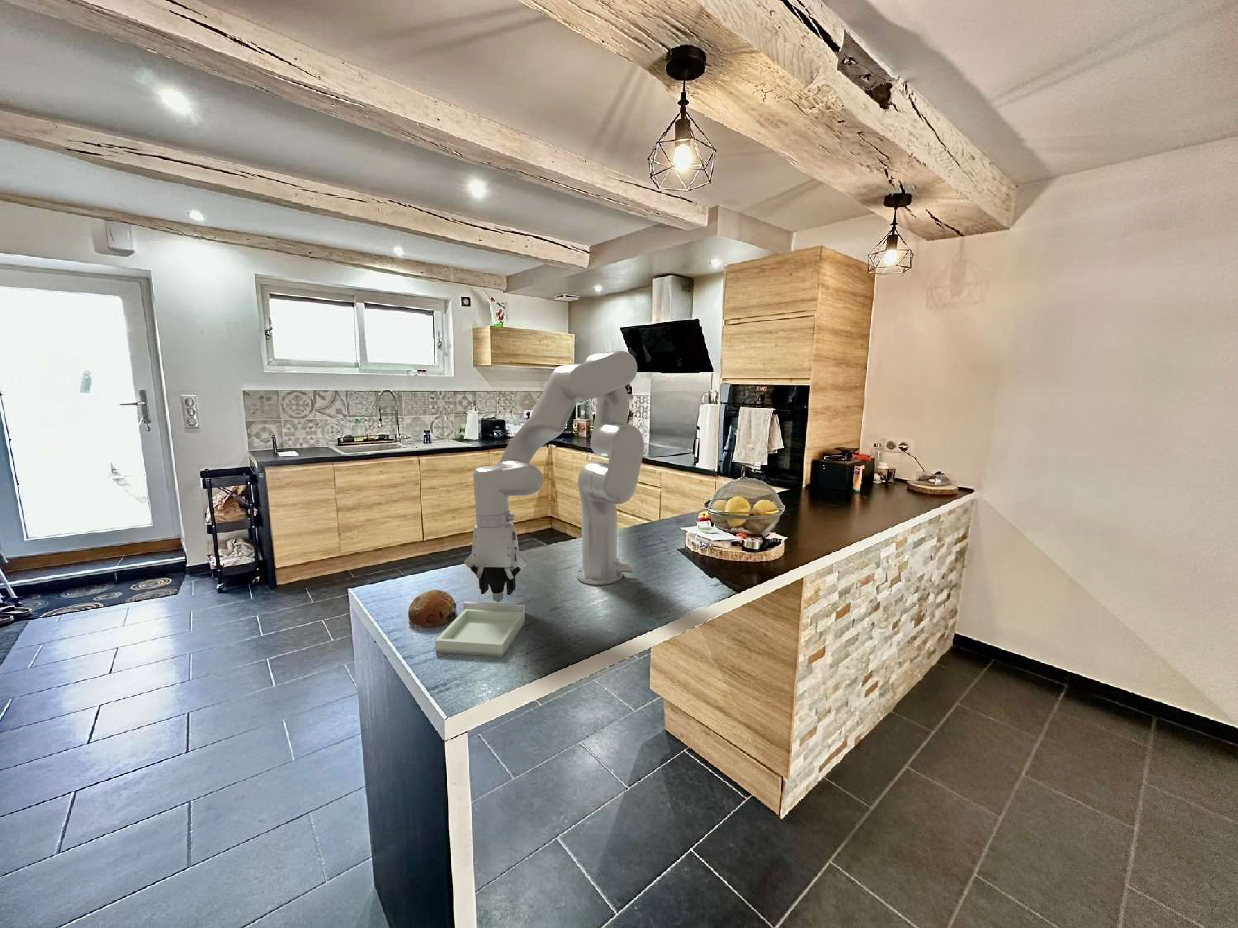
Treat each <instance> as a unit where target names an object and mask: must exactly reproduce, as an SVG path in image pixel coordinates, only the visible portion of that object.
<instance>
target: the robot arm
mask: <svg viewBox="0 0 1238 928" xmlns="http://www.w3.org/2000/svg"><path fill="white" fill-rule="evenodd" d="M637 372H638V363H637V361H636V358H635V356H633V355H632V354H631V353H630V352H627V351H624V350H613V351H603V352H596V353H592V354H591V355H589V356H588V357H586V359H585V361H584V363H571V364H563V365H559V366H558V367H556V368H555V369H553V371H552V373H551V375H550V376H549V379H548V380H547V382H546V385H545V386H544V389H543V391H542V393H541V396H540V397H539V399H538V402H537V404H536V405H535V408H534V410H533V412H532V414H531V415H530V417H529V419H528V420H527V421H526V422H525V423H524V424H523V425H522V426H521V427H520V428H519V430H518V431H517V432H516V433H515V434H514V435H513V437H512V438H511V439H510V441H509V442H508V444H507V446H506V447H505V450H504V452H503V455H502V456H501V458H500V460H499V462H498V465H488V466H487V465H485V466H480V467H477V468H475V470H474V472H473V474H472V476H473V477H472V479H473V493H474V494H473V495H474V504H475V505H474V508H475V520H476V523H475V525H474V527H473V531H472V544H471V545H472V546H471V553H470V554H469V556H468V557H467V558H466V559H465V560H464V561H463V563H464V565H465V566H466V567H468V568H469V569H470V571H471V572H472V573H473V574H474V575H476V576H475V577H476V578H477V579H478V589H479V590H480V594H481V595H485V594H486V593H487V592H488V590H489V588H490V586H489V584H488V583H487V582H486V581H485V579H484V570H485V568H486V567H496V568H504V569H505V571H506V573H507V576H508V578H507V580H506V583H505V586H506V595H507V596H511V595H512V594H513V592H514V591H515V590H516V588H517V585H516V576H517V574H519V573H520V572H521V571H522V570H523V569H524V568H525V567H526V566H527V565H528V564H529V562H528V560H527V559H526V558H525V557H524V556H523V555H522V554H521V553H520V548H519V542H518V536H517V532H516V531H517V530H516V528H515V525H514V524H515V523H514V521H516V514H512V513H511V511H510V503H509V497H528V496H532V495H534V494H536V493H538V492H539V491H540V490H541V488H542V487H543V485H544V475H543V472H542V471H541V470H540V469H539V468H538V466H537V467H536V466H535V465H533V464H530V463H531V461H532V459H533V457H534V456H535V454H536V453H537V452H538V451H539V450H540V448H541V447H542V446H544V445H545V444H547V443H549V442H550V441H552V440H554V439H556V438H557V437H558V436H560V435H561V434H562V433H563V432H564V431H565V428H566V426H567V424H568V423H569V420H570V417H571V415H572V414H573V411H574V409H575V407H576V405H577V403H578V401H588V400H589V401H590V400H592V399H597V400H596V401H597V404H596V411H595V416H594V422H593V425H592V426H593V427H592V432H591V436H590V437H591V438H590V449H591V451H592V452H593V453H594V454H596V455H597V456H599V457H602V458H605V459H608V461H607V462H604V461H603V462H602V461H591V462H588V463H586V464H585V465H584V466H583V467H581V468H580V471H579V473H578V476H577V486H578V487H577V488H578V491H579V492H578V493H579V494H578V495H579V498H580V504H581V507H580V508H581V567H580V568H578V570H577V571H576V578H577V580H578V581H580V582H582V583H584V584H588V585H593V586H594V585H595V586H596V585H600V586H603V585H610V584H614V583H616V582H618V581H620V580H621V579H622V578H623V573H626V574H633V573H634V565H630V563H627V562H626V563H623V562H621V561H620V557H618V512H617V511H618V510H617V505H623V504H625V503H627V502H628V501H630V500H631V498H632V497H633V495H634V493H635V492H636V488H637V486H638V480H639V476H640V471H641V466H642V462H643V456H644V449H645V442H644V436H643V434H642V432H641V431H640V429H639V428H638V427H636V426H635V425H633V424H630V423H628V417H629V411H630V398H629V394H628V392H627V389H626V386H627V385H629V384H631V383H632V382H633V381H634V379H635V378H636V375H637ZM512 521H513V522H512ZM516 562H518V565H517V566H516V567H515V563H516Z"/></svg>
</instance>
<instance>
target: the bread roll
mask: <svg viewBox="0 0 1238 928" xmlns="http://www.w3.org/2000/svg"><path fill="white" fill-rule="evenodd" d="M456 612H457V602H455V600H454V597H452V595H451V594H450V593H449V592H447V591H446V590H445V591H444V590H441V589H431V590H428V591H425V592H423V593H421V594H419V595H417V596H416V597H415V598H414V599H413V600H412V602H411V604H410V605H409V607H408V610H407V618H408V621H409V622H410V624H412V625H413V626H415V625H416V627H421V628H436V627H440V626H442V625H445V624H447V623H450V622H451V621H453V619H454V617H456Z"/></svg>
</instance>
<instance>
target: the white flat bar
mask: <svg viewBox="0 0 1238 928" xmlns="http://www.w3.org/2000/svg"><path fill="white" fill-rule="evenodd" d="M462 605H463V606H462V607H463V610H464V609H475V610H493V611H510V612H524V618H525V617H526V615H525V613H526V611H525V604H518V603H500V602H479V601H463V604H462Z"/></svg>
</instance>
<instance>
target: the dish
mask: <svg viewBox="0 0 1238 928" xmlns="http://www.w3.org/2000/svg"><path fill="white" fill-rule="evenodd" d="M525 621H526V620H525V618H524V612H510V611H493V610H475V609H464V608H463V611H462V612H460V614H459V615H458V616H456V618H455V619H454V620H452V622H451V623H450V624H449V625H448V626H447V627H446V629H444V630H443V631H442V632H441V634H439V635H438V637H437V638H436V639H434V647H435V653H443V654H455V655H456V654H457V655H458V654H459V655H467V656H468V655H472V656H485V657H499V658H503V657H504V656H505V654H506V653H507V651H508V649H509V648H510V646H511V645H512V644H513V642H514V640H515V639H516V637H517V635H518V634H519V633H520V631H521V629H522V628H523V626H524V624H525Z"/></svg>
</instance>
